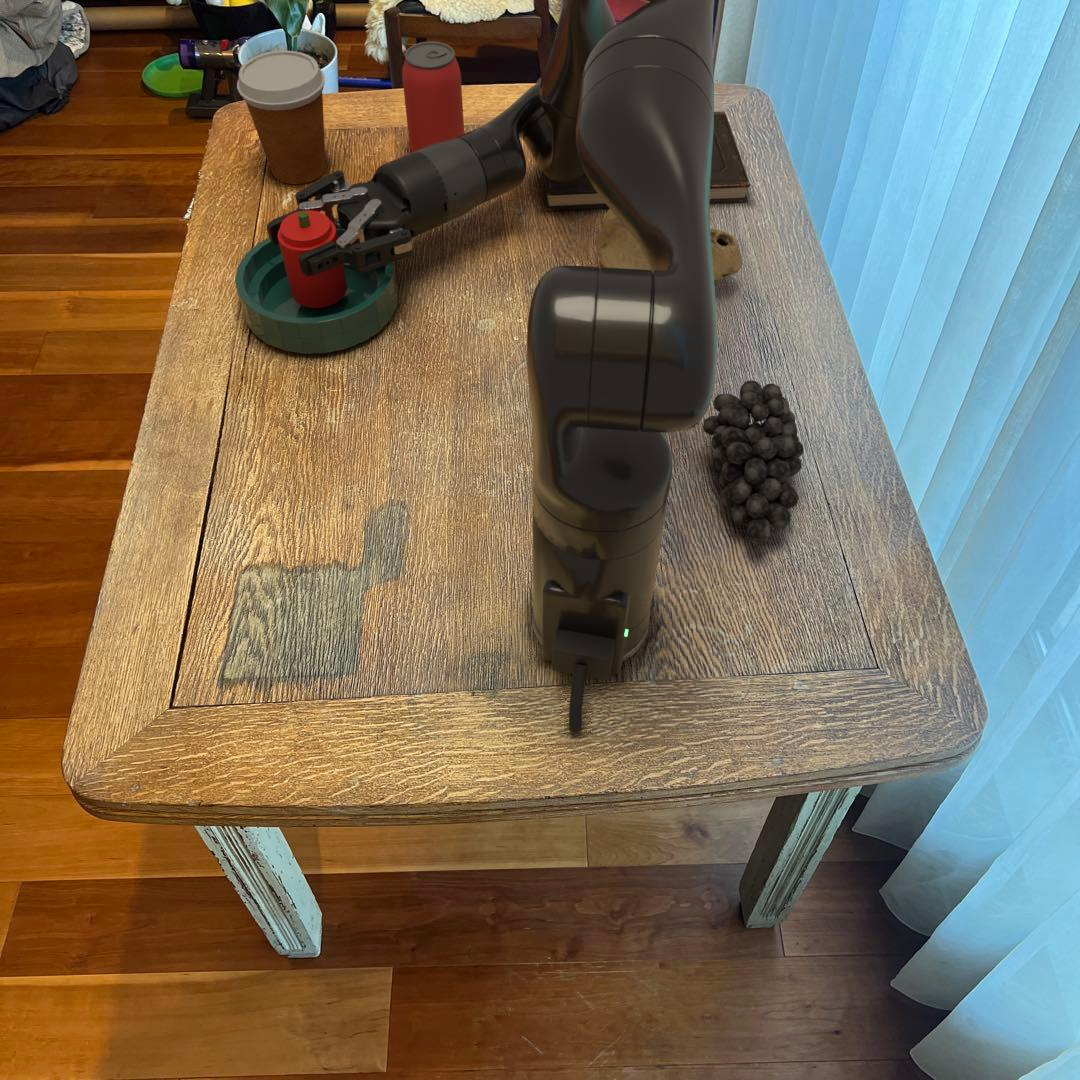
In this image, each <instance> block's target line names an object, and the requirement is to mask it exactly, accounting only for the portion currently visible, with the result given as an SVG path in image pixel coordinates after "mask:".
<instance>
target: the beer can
mask: <svg viewBox="0 0 1080 1080" xmlns="http://www.w3.org/2000/svg"><path fill="white" fill-rule="evenodd" d="M404 58H405V59H404V62H403V66H402V71H401V76H402V77H401V78H402V86H403V96H404V105H405V115H406V123H407V124H406V125H407V133H408V143H409V144H408V145H409V149H410V150H409V151H410V153H412V152H415V151H417V150H420V149H422V148H424V147H427V146H429V145H431V144H434V143H437V142H441V141H446V140H450V139H452V138H455V137H457V136H460V135H462V134H465V123H464V106H463V105H464V104H463V90H462V88H463V87H462V72H461V68H460V65H459V63H458V60H457V58H456V52H455V49H453V47H451V46H450V45H448V44H446V43H444V42H441V41H440V42H439V41H432V40H431V41H430V40H429V41H421V42H418V43H414V44H413V45H411V46H409V48H407V50H405V53H404Z"/></svg>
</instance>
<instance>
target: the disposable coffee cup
mask: <svg viewBox="0 0 1080 1080" xmlns="http://www.w3.org/2000/svg"><path fill="white" fill-rule="evenodd" d="M238 70H239V71H238V79H237V83H236V89H237V91H238V93H239V95H240V96H241V97H242V99H243V100H244V102H245V103H246V106H247V109H248V112H249V114H250V117H251V119H252V122H253V125H254V127H255V130H256V133H257V136H258V138H259V141H260V143H261V146H262V149H263V151H264V154H265V157H266V160H267V162H268V165H269V167H270V170H271V173H272V176H273V178H275V179H276V180H278V181H279V182H282V183H285V184H289V185H301V184H306V183H310V182H313V181H316V180H317V179H319V178H321V176H322V175H323V174H324V173H325V172H326V169H327V162H326V161H327V160H326V141H325V121H324V100H323V99H324V97H323V91H324V86H325V82H326V77H325V73H324V71H323V70H322V69H321V68H320V66H319V64H318V62H317V61H316V59H314V58H313V57H312V56H311V55H308V54H306V53H304V52H301V51H294V50H274V51H268V52H265V53H260V54H257V55H255V56H253V57H251V58H250V59H247V60H246V61H245V62H244V63H243V64H242V65H241V66H240V69H238Z"/></svg>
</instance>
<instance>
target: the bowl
mask: <svg viewBox="0 0 1080 1080" xmlns="http://www.w3.org/2000/svg"><path fill="white" fill-rule="evenodd" d="M336 232H337V237H338V238H339V237H340V236H341V235H342V234H343V233H345V232H346V230H344V229H341V230H336ZM376 254H377V252H376V251H373V252H370V253H367V254H366V259H367V258H370V257H373V256H375V255H376ZM394 263H395V262H394ZM394 263H390V264H387V265H384V266H381V267H378V268H375V269H372V270H369V271H365V272H357V271H356V270H355V266H353V265H348V266H344V265H343V268H344V273H345V278H346V284H347V291H346V294H345V295H344V297H343V298H342V299H341V300H340V301H338V302H337V303H335V304H333V305H330V306H327V307H322V308H310V307H305V306H302V305H300V304H299V303H297V302H296V301H295V300H294V298H293V297H292V293H291V289H290V285H289V281H288V277H287V273H286V269H285V265H284V261H283V257H282V253H281V249H280V245H279V244H277V245H276V244H274V243H273V242H272V241H271V240H270V238H269V236H268V237H266V238H264V239H263V240H261V241H259V242H258V243H256V244H255V245H254V246H253V247H252V248H251V249H249V251H247V252H246V253H245V254H244V256H243V258H242V259H241V260H240V262H239V264H238V265H237V267H236V273H235V278H234V283H235V288H236V292H237V295H238V299H239V302H240V307H241V310H242V313H243V317H244V320H245V323H246V325H247V326H248V328H249V329H250V330H251V332H252V333H253V334H254V336H256V337H257V338H258V339H260V340H261V341H263V342H264V343H265V344H267V345H269V346H271V347H274V348H277V349H280V350H282V351H285V352H290V353H291V352H292V353H298V354H305V355H308V354H309V355H311V354H312V355H313V354H329V353H333V352H337V351H343V350H347V349H350V348H352V347H354V346H356V345H359V344H362V343H363V342H366V341H367V340H369V339H370V338H372V337H373V336H375V335H376V334H378V333H380V331H382V329H384V327H385V326H386V325H387V324H389V322H390V321H391V319H392V318H393V316H394V314H395V311H396V309H397V307H398V298H399V297H398V295H399V293H398V286H397V285H398V284H397V276H396V269H395V264H394Z"/></svg>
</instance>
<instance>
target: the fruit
mask: <svg viewBox="0 0 1080 1080" xmlns="http://www.w3.org/2000/svg"><path fill="white" fill-rule="evenodd" d="M713 408H714V410H715V411H716V412H718V414H717V415H711V416H709V417H707V418H705V419H703V424H702V430H703V431H704V433H705V434H706V435H709V436H712V437H711V441H710V442H711V443H710V444H711V447H712V449H713V452H712V460H713V462H714V463H715V469H716V470H717V471H718V472H719V479H718V482H719V484H720V485H721V487H723V488H724V489H723V490H722V491H721V493H720V494H719V496H720V501H721V503H722V505H724V507H726V508H729V509H730V508H731V509H732V510H731V512H730V517H731V519H732V521H733V523H734V524H736V525H739V526H741V527H742V526H744V527H746V528H747V531H746V537H747V538H748V541H750V543H752V544H755V545H761V544H765V543H766V542H767V541H768V539H769V538H770V536H771V534H772V532H773V528H775V529H778V530H779V529H781V530H782V529H784V528H786V527H787V526H788V525H789V524H790V522H791V519H792V517H791V516H792V514H791V511H790V510H789V509H792V508H795V507H797V504H798V503H799V499H800V496H799V494H798V492H797V490H796V489H795V488H794V487H793V486H792V479H791V477H793V476H795V475H797V474H798V473H799V472H801V470H802V467H803V465H802V460H801V459H800V457H801V456H802V455H803V454H804V449H805V448H804V445H803V443H802V442H801V441H800V438H799V436H798V427H797V423H796V415H795V414H794V411H793V412H792V411H791V410H790V402H789V401H788V399H787V398H786V397H784V396H783V392H782V390H781V387H780V386H779V385H777V384H775V383H774V382H772V383H767V384H765V385H764V386H762V385H761V384H760V383H759V382H758V381H756V380H747V381H745V382H743V383H742V384H741V386H740V389H739V397H737V396H736V395H734V394H732V393H718V394H717V395H716V396H715V398H714V399H713ZM751 418H752V419H751ZM751 422H752V423H751ZM759 422H761V423H759ZM772 527H773V528H772Z"/></svg>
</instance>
